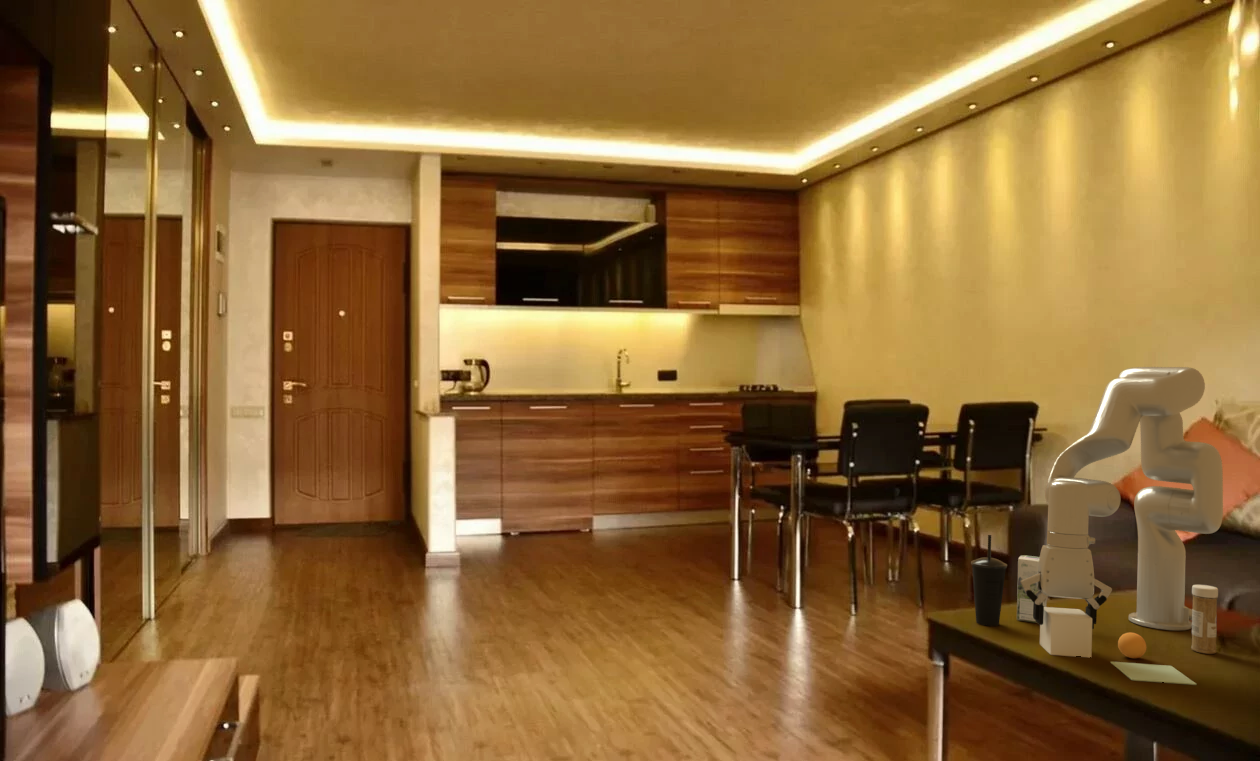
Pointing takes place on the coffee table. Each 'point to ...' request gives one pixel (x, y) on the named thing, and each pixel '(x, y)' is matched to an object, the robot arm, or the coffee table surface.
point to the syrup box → (1024, 603)
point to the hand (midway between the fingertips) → (1064, 625)
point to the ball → (1132, 645)
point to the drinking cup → (988, 588)
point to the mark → (1152, 673)
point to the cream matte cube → (1066, 632)
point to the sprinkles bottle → (1204, 619)
